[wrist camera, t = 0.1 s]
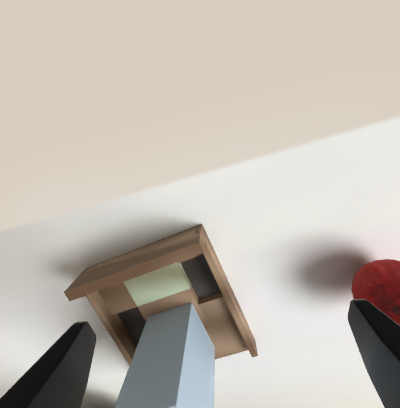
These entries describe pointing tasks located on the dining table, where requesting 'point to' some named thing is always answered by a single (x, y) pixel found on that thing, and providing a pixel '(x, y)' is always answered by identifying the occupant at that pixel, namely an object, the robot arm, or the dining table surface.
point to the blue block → (171, 364)
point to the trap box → (165, 292)
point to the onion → (380, 286)
